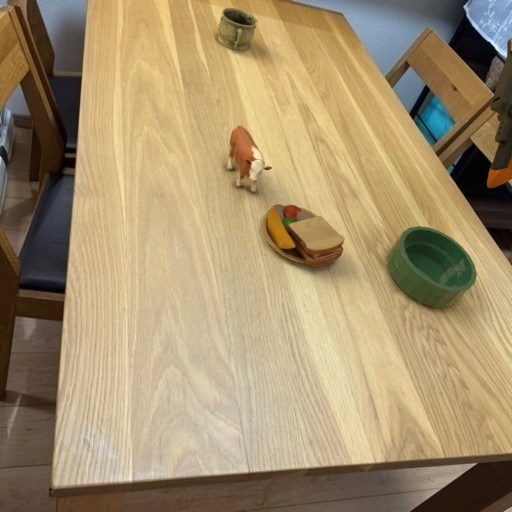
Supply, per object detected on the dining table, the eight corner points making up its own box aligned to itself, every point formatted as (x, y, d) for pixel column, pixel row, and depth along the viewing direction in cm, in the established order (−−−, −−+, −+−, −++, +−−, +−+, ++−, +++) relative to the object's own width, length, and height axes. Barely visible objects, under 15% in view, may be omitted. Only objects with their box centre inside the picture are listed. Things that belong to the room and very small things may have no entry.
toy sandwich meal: (311, 207, 86) (321, 187, 83) (348, 267, 79) (361, 247, 76) (248, 213, 81) (256, 192, 77) (281, 277, 74) (292, 257, 70)
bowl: (453, 259, 89) (469, 241, 85) (463, 319, 79) (483, 301, 76) (384, 236, 87) (397, 216, 84) (386, 294, 78) (402, 275, 74)
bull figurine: (238, 206, 81) (252, 168, 75) (220, 153, 89) (231, 116, 83) (262, 207, 83) (277, 170, 77) (243, 155, 91) (255, 118, 85)
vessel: (252, 58, 117) (260, 32, 112) (216, 49, 114) (223, 23, 110) (248, 34, 124) (255, 9, 120) (214, 26, 122) (220, 0, 117)
